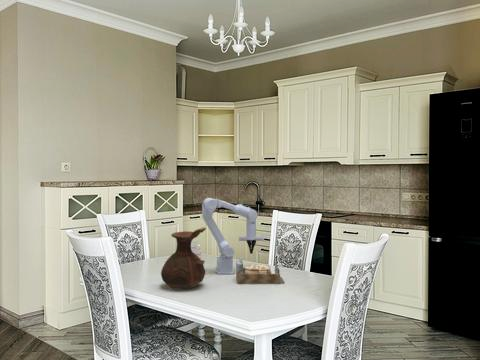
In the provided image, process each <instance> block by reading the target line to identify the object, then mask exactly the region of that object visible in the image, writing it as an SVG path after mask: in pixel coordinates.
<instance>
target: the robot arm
mask: <svg viewBox="0 0 480 360" xmlns="http://www.w3.org/2000/svg"><path fill="white" fill-rule="evenodd" d="M201 208H202V211H201V212H202V213H201V218H202V220H203V221H204V223H205V224H206V226H207V228H208V229H209V231H210V233H211V235H212V237H213V238H214V240H215V242H216V243H217V247H218V251H219V253H220V255H219V256H217V257H216V267H215V271H216V274H217V275H233V274H234V272H235V271H234V254H235V249H234V247H232V246H231V245H230V243H228V241H227V240H226V238H225V237H224V235H223V234H222V232H221V230H220V228H219V226H218V224H217V223H216V221H215V219H214V218H213V214H214V212H215V210H216V209H217V208H218V209H219V208H225V209H227V210H230V211H233V212H234V214H235V215H238V216H241V217H244V218H246V219H245V220H246V221H245V222H246V223H245V224H246V225H245V226H246V227H245V228H246V232H245V234H246V235H245V236H239V237H238V241H239V242H246V243H247V246H248V248H249V253H250V254H253V253H254V249H255V245H256V244H257V242H259V241H260V242H261V241H262V242H264V241H265V237H264V236H257V218H258V215H259V214H258V212H257V211H256V210H255V209H253V208H251V207H250V206H248V207H247V206H244V205H243V203H240V204H236V205H235V204H232V203H229V202H227V201H224V200H221V199H217V198H211V197H206V198H204V199H203V201H202V204H201Z"/></svg>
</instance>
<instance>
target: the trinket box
mask: <svg viewBox="0 0 480 360" xmlns="http://www.w3.org/2000/svg"><path fill="white" fill-rule="evenodd" d="M243 274H272V270H271V269H270V268H269V267H268V266H266V265H263V264H257V263H256V264H248V265H246V266H243Z"/></svg>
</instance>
